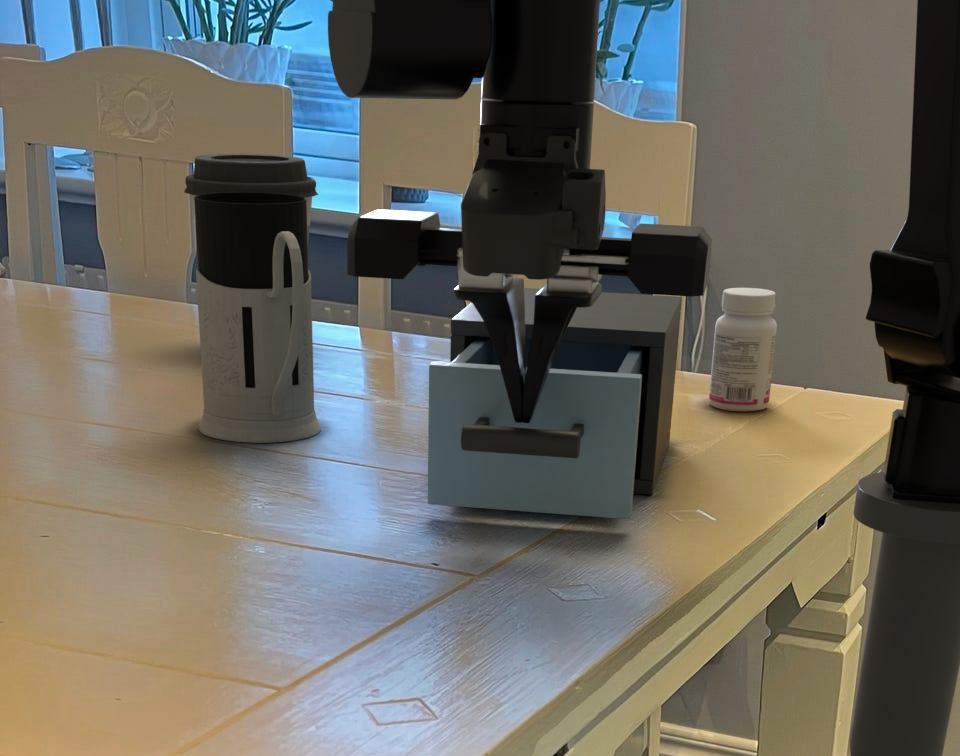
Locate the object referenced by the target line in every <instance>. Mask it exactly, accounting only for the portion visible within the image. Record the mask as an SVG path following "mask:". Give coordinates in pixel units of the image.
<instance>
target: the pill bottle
mask: <svg viewBox="0 0 960 756" xmlns="http://www.w3.org/2000/svg"><path fill="white" fill-rule="evenodd" d="M776 295H777V293H776V291H773V290H771V289H766V288H756V287H731V288H730V287H729V288H726V289H724V290H723V292H722V298H721V307H722V308H721V311H722V312H723V313H724V314H722V315H721V316H719V317H718V318H717V320H716V322H715V327H714V336H713V337H714V338H713V348H712V359H711V371H710V380H709V393H708V403H709V405H711V406H712V407H713V408H716V409H718V410H719V409H721V410H724V411H729V412H756V411H762V410H765V409H767V407H768V406H769V404H770V398H771V397H770V396H771V389H772V381H773V380H772V378H773V369H774V360H775V359H774V358H775V350H776V340H777V333H778V332H777V331H778V325H777V324H778V323H777V321H776V320H775V319H774V318H773V317H772V316H771V315H772V314H774V312H775V309H776Z"/></svg>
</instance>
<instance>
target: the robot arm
mask: <svg viewBox="0 0 960 756" xmlns="http://www.w3.org/2000/svg"><path fill="white" fill-rule="evenodd" d="M600 5H601V0H332V8H331V10H329V11H328V13H327V39H328V40H327V41H328V50H329V51H328V52H329V57H330V64H331V67H332V71H333V75H334V77H335V81H336V83H337V86H338V88H339V89H340V91H341V93H342V94H343V95H344V96H346V97H347V98H349V99H392V100H393V99H394V100H395V99H399V100H400V99H401V100H403V99H404V100H408V99H409V100H459V99H461V98H463V97H464V96H465V94H466V93H467V92H468V91H469V89H470V87H471V84H472V83H473V81H474V79H481V91H480V92H481V94H480V98H481V99H480V120H479V121H480V123H479V124H480V125H479V138H478V154H477V157H476V160H475V165H474V167H473V170H472V173H471V176H470V179H469V182H468V185H467V187H466V189H465V192H464V195H463V196H462V200H461V202H460V221H461V223H460V224H461V228H448V227H447V228H444V227H441V222H440V217H439V216H440V215H439V212H435V211H434V212H432V211H418V210H416V211H415V210H398V209H375V210H373V211H370V212H368V213H366V214H363V215H361V216H359V217H357V218H356V219H355V221H354V222H353V224H351V225H350V227H349V229H348V234H347V238H346V273H347V274H346V275H348V276H352V277H354V278H355V277H356V278H358V277H359V278H371V279H372V278H374V279H388V280H405V279H406V278H407V277H408V276H409V275H410V273H412V271H414V269H416V268H417V266H419V267H425V266H427V265H428V266H442V267H443V266H445V267H456V268H457V269H456V271H457V274H458V275H457V276H458V279H457V280H458V281H457V284H458V285H457V286H456V287H454V288H453V293H454V298H455V299H456V300H459V301H465V302H467V301H469V302H470V303H473V305H474V306H475V308H476V309H477V311H478V313H479V314H480V316H481V318H482V319H483V321H484V323H485V326H486V328H487V330H488V333H489V335H490V338H491V340H492V343H493V345H494V348H495V351H496V355H497V358H498V361H499V365H500V369H501V372H502V376H503V380H504V383H505V387H506V391H507V394H508V398H509V402H510V405H511V409H512V413H513V416H514V420H515V422H516V423H522V422H523V423H530V421H531V420H532V417H533V414H534V412H535V409H536V406H537V403H538V401H539V398H540V395H541V392H542V390H543V387H544V384H545V381H546V378H547V376H548V373H549V370H550V367H551V365H552V362H553V359H554V356H555V354H556V351H557V348H558V346H559V343H560V341H561V339H562V337H563V335H564V333H565V331H566V329H567V327H568V325H569V323H570V321H571V319H572V317H573V315H574V313H575V311H576V309H577V307H581V308H584V307H591V306H592V305H593V304H594V303H595V301H596V300H597V299H598V297H599V296H600V295H601V292H603V291H602V290H603V284H601V283H600V280H601V279H602V278H603V276H618V277H627V278H628V279H629V280H630V282H631V283H632V284H633V285H634V287H635V288H636V289H637V290H638V291H639V292H640V294H642V295H660V296H677V297H691V298H692V297H693V298H694V297H702V296H704V294H705V292H706V289H707V286H708V284H709V278H710V277H709V276H710V268H711V267H710V266H711V259H712V258H711V257H712V247H713V246H712V245H713V239H712V237H711V236H710V234H709V233H708V232H707V231H706V229H705V228H704V226H695V225H680V224H679V225H678V224H660V223H659V224H658V223H643V222H642V223H641V222H640V223H639V224H638V225H636V227H635V228H634V229H633V231H632V232H631V238H628V237H627V238H626V237H611V236H610V237H608V236H603V234H604V230H605V221H606V202H607V201H606V200H607V199H606V197H607V193H606V191H607V190H606V170H605V169H601V168H599V169H598V168H591V160H592V159H591V158H592V140H593V125H594V111H595V110H594V107H595V104H594V103H595V91H596V90H595V88H596V75H597V74H596V73H597V58H598V57H597V56H598V39H599V38H598V37H599V26H600V25H599V23H600V21H599V20H600ZM916 7H917V8H916V24H915V25H916V28H915V48H914V49H915V52H914V73H913V74H914V77H913V96H912V97H913V99H912V100H913V102H912V125H911V147H910V148H911V149H910V169H909V170H910V171H909V196H908V197H909V198H908V211H907V216H906V220H905V221H904V224H903V226H902V228H901V229H900V231H899V233H898V234H897V237H896V239H895V241H894V243H893V244H892V247H891V248H890V249H875V250H873V252H872V253H871V255H870V256H871V257H870V260H869V261H870V262H869V273H870V281H871V294H870V300H869V301H870V302H869V306H868V308H867V313H866V315H865V319H866V321H869V322H873V324H874V331H875V332H874V334H875V335H874V336H875V339H876V343H877V345H878V346H879V347H880V348H882V349H883V355H884V363H885V370H886V378H887V382H888V383H890V384H892V385H902V386H905V392H904V399H903V405H902V409H900V408H896V409H895V410H894V411H893V412H892V415H891V422H890V427H889V434H888V439H887V447H886V452H885V453H886V454H885V460H884V467H883V472H884V478H885V481H886V482H887V484H890V488H891V494H892V497H893V498H895V499H902V500H916V501H930V502H944V503H958V504H960V0H917V3H916ZM514 275H519V276H520V275H521V276H525V277H526V278H527V279H528V280H537V281H539V280H546V285H544V286H543V287H542V288H540V289H541V290H540V291H539V292H538V293H537V294H536V295H535V306H534V325H533V332H532V338H531V345H530V351H529V358H528V364H527V367H526V334H525V301H524V288H525V279H524V278H521V277H514Z"/></svg>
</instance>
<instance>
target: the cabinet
mask: <svg viewBox="0 0 960 756" xmlns="http://www.w3.org/2000/svg"><path fill="white" fill-rule="evenodd" d="M541 289H542V288H535V287H533V288H532V287H524V301H525V334H526V339H528V340H531V338H532V332H533V325H534V306H535V295H536V294H537V293H538V292H539V291H540V290H541ZM682 302H683V296H673V295H656V294H641V293H640V294H639V293H624V292H623V293H621V292H607V291H606V292H603V291H601V295H600V296H599V297H598V299H597V300H596V301H595V303H594V304H593V305H592V306H591V307H584V308H581V307H577V309H576V311H575V313H574V315H573V317H572V319H571V321H570V323H569V325H568V327H567V329H566V331H565V333H564V335H563V337H562V339H561V342H577V343H594V344H610V345H627V346H643V347H646V356H645V369H644V382H643V395H642V408H641V421H640V434H639V446H638V458H637V461H636V463H635V476H634V489H633V495H645V496H652V495H653V494H654V490H655V488H656V484H657V482H658V479H659V475H660V473H661V469H662V466H663V463H664V460H665V457H666V454H667V451H668V448H669V444H670V441H671V428H672V416H673V406H674V393H675V382H676V370H677V360H678V348H679V338H680V325H681V315H682V312H681V311H682V305H683V304H682ZM478 337H490V335H489V333H488V330H487V328H486V326H485V323H484V321H483V319H482V318H481V316H480V314H479V313H478V311H477V309H476V308H475V306H474V305H473V303H472V302H470V303H469V304H467V306H466V307H465V308H463V309H462V310H460V312H458V314H456V315H455V316H454V317H452V318H451V319H450V353H449V355H450V356H449V362H453V361H454V360H455V359H456V358H457V357H458V356H459V355H460V354H461V353H462V352H463V351H464V350H465V349H466V348H467V347H468V346H469V345H470V344H471V343H472V342H474V341H475V340H476V339H477V338H478Z"/></svg>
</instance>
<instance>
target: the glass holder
mask: <svg viewBox="0 0 960 756" xmlns="http://www.w3.org/2000/svg"><path fill="white" fill-rule="evenodd" d="M194 202H195V217H194V220H195V219H196V223H195V232H196V233H195V234H196V249H197V251H196V252H197V267H198V268H195V278H196V279H195V280H196V294H197V295H196V296H197V297H196V298H197V312H198V313H197V314H198V330H199V345H200V359H201V360H200V362H201V363H200V364H201V377H202V378H201V379H202V396H203V411H202V417H201V419H200V421H199V425H198V431H199V432H200V433H201V434H203V435H204V436H207V437H210V438H213V439H217V440H223V441H228V442H236V443H254V444H256V443H258V444H259V443H260V444H261V443H263V444H264V443H265V444H266V443H282V442H291V441H292V442H293V441H298V440H305V439H308V438H312V437H314V436H316V435H318V434H319V433H320V432H321V431H322V426H321V423H320V421H319V419H318V417H317V414H316V409H315V386H314V385H315V382H314V381H315V380H314V346H313V344H314V342H313V340H314V339H313V304H312V275H311V271H310V269H309V241H308V242H307V203H306V198H304V197H301V196H296V195H289V194H279V193H262V192H221V193H207V194H200V195H197V196H195V197H194Z"/></svg>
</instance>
